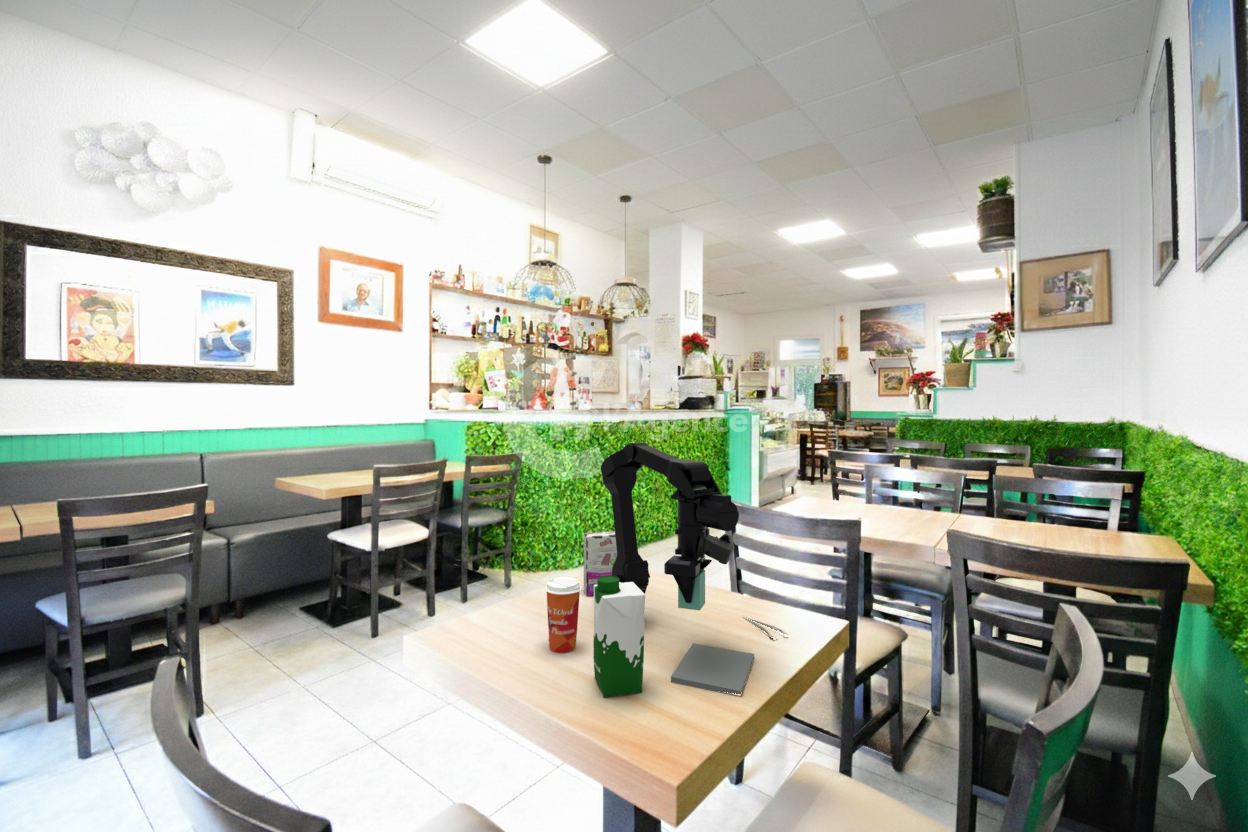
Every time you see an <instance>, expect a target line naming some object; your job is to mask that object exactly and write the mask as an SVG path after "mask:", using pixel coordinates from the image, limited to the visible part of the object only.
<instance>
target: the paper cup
mask: <svg viewBox="0 0 1248 832" xmlns="http://www.w3.org/2000/svg"><path fill="white" fill-rule="evenodd" d="M544 590H545V591H546V604H547V606H546V607H547V608H546V609H547V626H548V627H547V630H548V644H549V645H548V646H549V650H550V651H551V652H554V653H557V654H565V653H570V652H573V651H574V650H575V649H576V645H577V635H578V621H579V610H580V609H579V608H580V607H579V605H580V592H581V591H582V585H581V584H580V582H579V580H578V579H577V578H573V577H570V576H569V577H567V576H566V577H565V576H564V577H560V576H559V577H555V578H554V577H553V578H552V579H550V580H549V581H547V583H546V586H545V588H544Z"/></svg>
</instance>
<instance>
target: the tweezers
mask: <svg viewBox="0 0 1248 832" xmlns="http://www.w3.org/2000/svg"><path fill="white" fill-rule="evenodd" d="M742 617H743V616H742ZM745 617H746V618H745ZM744 618H745V619H746V620H745V619H744ZM747 618H748V619H747ZM742 619H744V620H745V621H747V620H748V621H749V622H748V621H747V622H748V623H750V622H751V623H752V625H753V624H754V625H755V627H756V626H757V627H758V628H760V629H761V630H763V631H765V632H766V633H767V634H768V635H769V637H775V636H774V635H772V634H771V632H770V631H768V629H767V628H765V627H763V626H761V625H759V624H757V623H760V624H762V625H765V626H767V627H770V628H771V629H774V630H776V631H779V632H781V633H783V634H787V635H788V633H787V632H785V631H784V630H782V629H780V628H778V627H777V626H774V625H772V624H768V623H765V622H763V621H762V622H761V621H758V620H757V619H753V618H749V617H747V616H744V617H743V618H742ZM749 619H750V620H749ZM751 620H752V621H751ZM753 621H755V622H757V623H755V622H753ZM751 623H750V624H751ZM754 625H753V626H754ZM757 627H756V628H757ZM758 628H757V629H758ZM760 629H759V630H760ZM761 630H760V631H761ZM769 637H768V638H769Z"/></svg>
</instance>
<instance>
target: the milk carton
mask: <svg viewBox="0 0 1248 832" xmlns="http://www.w3.org/2000/svg"><path fill="white" fill-rule="evenodd" d="M645 606H646V593H645V594H644V593H643V592H642V591H641V590H640V589H639V588H638V587H637V586H636V584H635V583H634V582H625V583H621V582H619V578H617V577H615V576H602V577H599V578H598V579H597V585H594V596H593V672H594V673H593V674H594V681H595V682H596V684H597V687H598V688H599V690H600V692H601V694H602V697H603V698H605V699H606V698H611V697H619V696H620V697H621V696H627V695H632V694H640V693H641V694H642V692H643V678H644V677H643V676H644V663H645V662H644V659H645V657H644V655H645V608H646V607H645Z"/></svg>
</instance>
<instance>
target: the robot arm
mask: <svg viewBox="0 0 1248 832" xmlns="http://www.w3.org/2000/svg"><path fill="white" fill-rule="evenodd" d="M643 467H645V468H648V469H650V470H652V471H654V472H656V473H658V474H661V475H663V476H664V477H666V479H667V483H669V484H670V485H671V486H673V487H674V488H675V489H676V490H675V491H674V493H672V494H671V495H670V499H671V500H676V501H677V527H676V528H675V529H674V535H677V547H676V548H675V549H674V555H673V556H671V557H670V558H669V559H668V560H667V561H666V562H664V563H663V565H664V567H663V568H664V573H663V574H665V575H668V576H669V575H670V576H672V577H673V578H674V581H675V582H676V584H677V587H678V586H679V588H680V591H681V593H682V595H683V597H684V599H685V602H686V603H691V602H692V597H693V591H694V585H695V579H696V577H698V576H699V575H700V574H701V573H702V571H701V570H700V569H703V570H706V568H707V567H708V566H709V565H710V564H711V563H712V562H713V560H715V561H717V562H718V563H719V564H721V565H727V564H728V563H729V562H730V560H731V558H732V555H733V553H734V551H735V543H732V536H731V535H729V534H728V533H723V534H722V535H721V536H720V537H719V536H717V535H716V536H713V535H711V534H710V528H711V529H715V530H718V531H719V530H720V531H723V532H731V531H732V530H734V529H735V527H736V526H737V524H738V522H739V518H740V514H739V510H738V507H737V505H736V504H735V503H734V502H733V501H732V496H731V494H730V495H729V494H722V492H721V490H720V488H719V485H718V484H717V482H716V480H715V479H714V477H713V474H712V473H711V471H710V467H709V464H707V463H706V462H704V461H700V460H695V459H683V458H678V457H675V456H674V455H671V454H668V453H667V452H665V451H662V450H661V449H660V450H659V449H657V448H654V447H653V446H650V445H649V444H647V443H645V442H630V443H627V444H626V445H625V446H624V447H623V448H622V449H619V450H618V451H615V452H614V453H612V454H610V455H608V456H607V457H606V458H605V459H604V460H603V462H602V463H601V464H600V473H601V477H602V483H603V485H604V486H605V488H606V489H607V491H608V492H609V493H610V495H611V496H610V497H611V505H612V515H613V525H614V531H615V537H616V546H617V557H616V560H615V562H614V564H613V567H612V576H615V577H617V578H619V582H621V583H625V582H634V583H635V584H636V586H637V587H638V588H639V589H640V590H641V591H642V592H643V593H644V594H645V595H646V591H647V588H648V586H649V583H650V578H651V575H650V572H649V562H648V560H645V559H643V558H642V556H641V555H640V554H639V549H638V547H639V546H638V541H637V540H638V539H637V531H636V529H637V528H636V520H635V513H634V501H633V490H634V489H635V485H636V483H637V482H638V481H637V480H638V479H637V477H638V476H637V475H638V474H637V473H638V471H640V470H641V469H642V468H643ZM706 556H707V557H709V558H712V559H708V558H706Z"/></svg>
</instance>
